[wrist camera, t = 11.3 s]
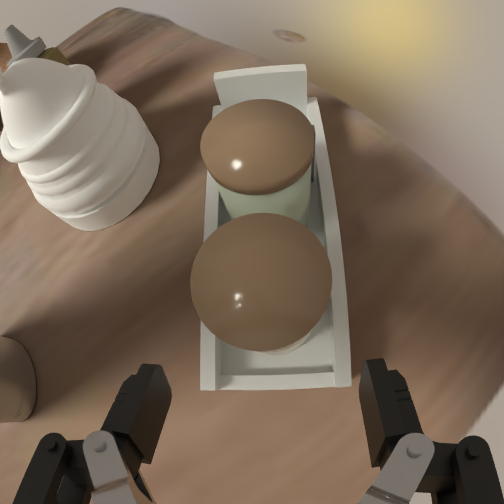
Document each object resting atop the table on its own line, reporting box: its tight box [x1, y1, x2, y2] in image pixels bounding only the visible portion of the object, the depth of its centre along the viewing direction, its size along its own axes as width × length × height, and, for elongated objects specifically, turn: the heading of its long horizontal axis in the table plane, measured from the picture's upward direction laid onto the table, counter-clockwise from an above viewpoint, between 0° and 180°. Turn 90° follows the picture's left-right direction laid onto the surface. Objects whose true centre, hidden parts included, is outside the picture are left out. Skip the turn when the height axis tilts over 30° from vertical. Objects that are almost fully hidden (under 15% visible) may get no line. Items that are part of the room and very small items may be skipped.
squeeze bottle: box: [3, 25, 71, 68], centre depth 25 cm, size 8×8×18 cm
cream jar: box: [190, 213, 332, 355], centre depth 17 cm, size 6×6×10 cm
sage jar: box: [200, 99, 314, 228], centre depth 20 cm, size 6×6×10 cm
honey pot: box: [0, 58, 160, 231], centre depth 21 cm, size 13×13×18 cm
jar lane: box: [200, 64, 351, 391], centre depth 22 cm, size 24×10×7 cm, turn 1°
